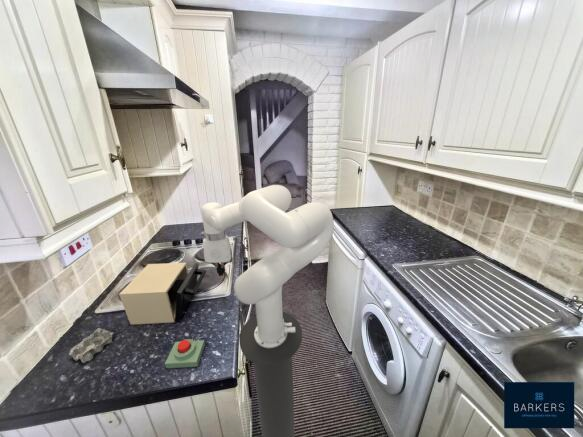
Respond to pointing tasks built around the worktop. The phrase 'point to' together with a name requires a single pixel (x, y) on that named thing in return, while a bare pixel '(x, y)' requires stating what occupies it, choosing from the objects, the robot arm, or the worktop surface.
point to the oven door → (188, 290)
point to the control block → (185, 355)
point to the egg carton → (91, 345)
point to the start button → (184, 346)
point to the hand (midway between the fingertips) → (221, 273)
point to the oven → (154, 293)
